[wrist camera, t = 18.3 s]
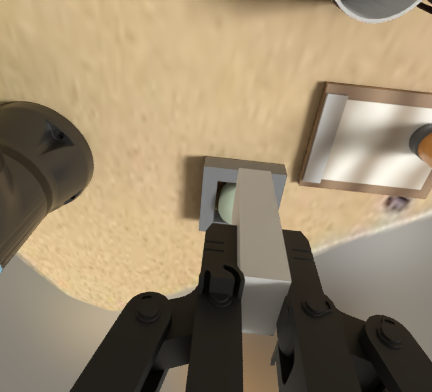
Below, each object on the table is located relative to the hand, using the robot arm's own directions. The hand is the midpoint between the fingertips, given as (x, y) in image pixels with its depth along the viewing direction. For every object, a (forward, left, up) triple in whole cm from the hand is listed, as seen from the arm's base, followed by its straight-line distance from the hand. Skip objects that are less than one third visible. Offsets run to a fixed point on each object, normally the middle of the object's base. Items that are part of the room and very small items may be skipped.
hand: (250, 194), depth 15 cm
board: (+19, -7, -26) cm, 33 cm away
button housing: (+2, -17, -26) cm, 31 cm away
